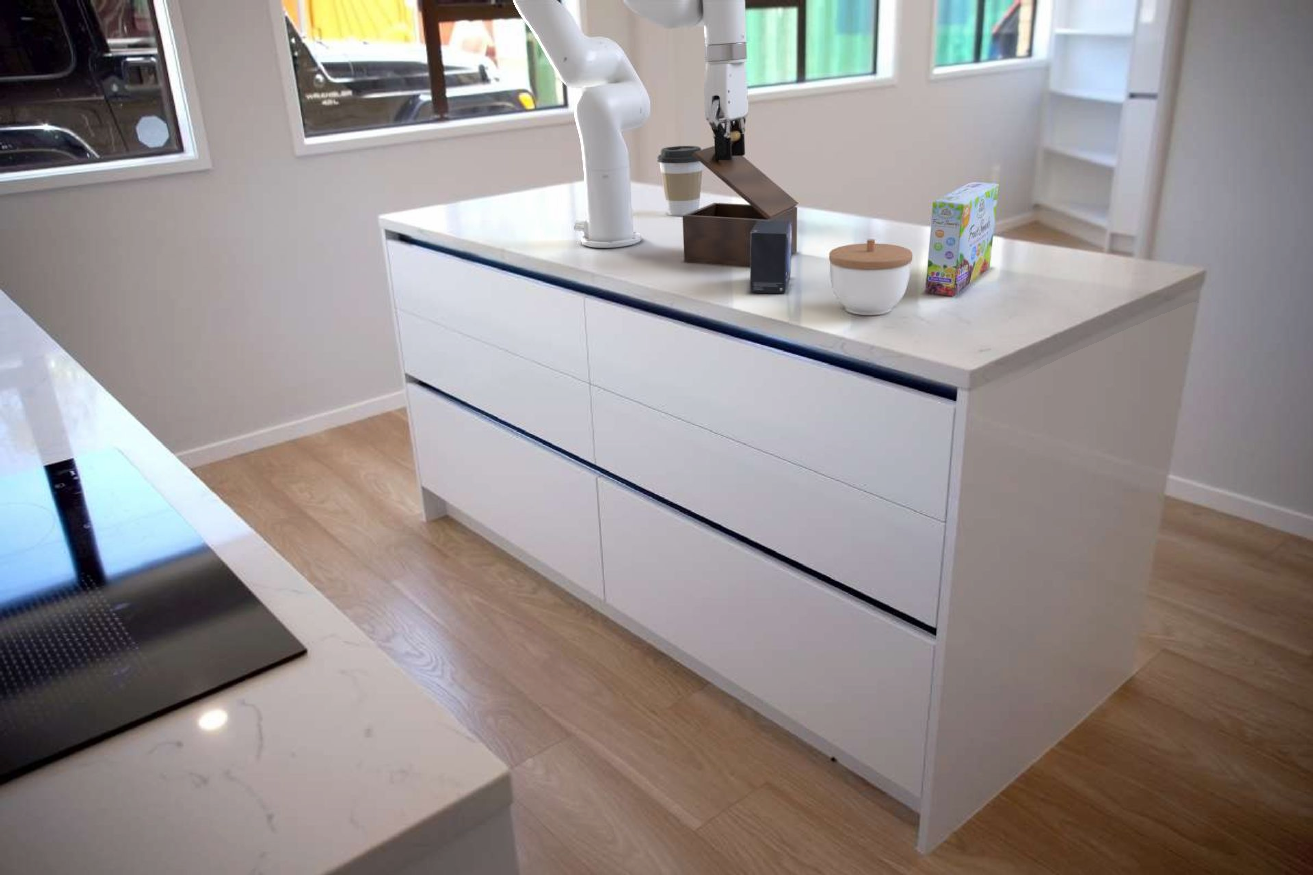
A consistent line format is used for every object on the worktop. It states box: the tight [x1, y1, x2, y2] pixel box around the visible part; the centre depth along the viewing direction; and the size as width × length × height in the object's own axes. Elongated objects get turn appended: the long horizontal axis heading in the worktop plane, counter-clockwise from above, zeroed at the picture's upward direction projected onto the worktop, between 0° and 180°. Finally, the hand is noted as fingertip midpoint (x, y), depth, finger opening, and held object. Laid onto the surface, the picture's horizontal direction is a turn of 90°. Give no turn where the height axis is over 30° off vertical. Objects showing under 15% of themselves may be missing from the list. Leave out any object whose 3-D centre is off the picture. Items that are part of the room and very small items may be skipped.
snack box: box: [924, 181, 1000, 297], centre depth 168 cm, size 21×6×15 cm, turn 148°
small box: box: [749, 220, 792, 294], centre depth 171 cm, size 11×6×10 cm, turn 168°
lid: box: [693, 131, 799, 219], centre depth 186 cm, size 19×14×6 cm
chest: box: [682, 202, 798, 268], centre depth 192 cm, size 18×14×9 cm
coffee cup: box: [656, 145, 704, 217], centre depth 235 cm, size 11×11×15 cm
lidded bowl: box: [828, 238, 913, 316], centre depth 156 cm, size 13×13×11 cm
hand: (730, 156), depth 187 cm, fingers closed on lid, 5 cm apart
